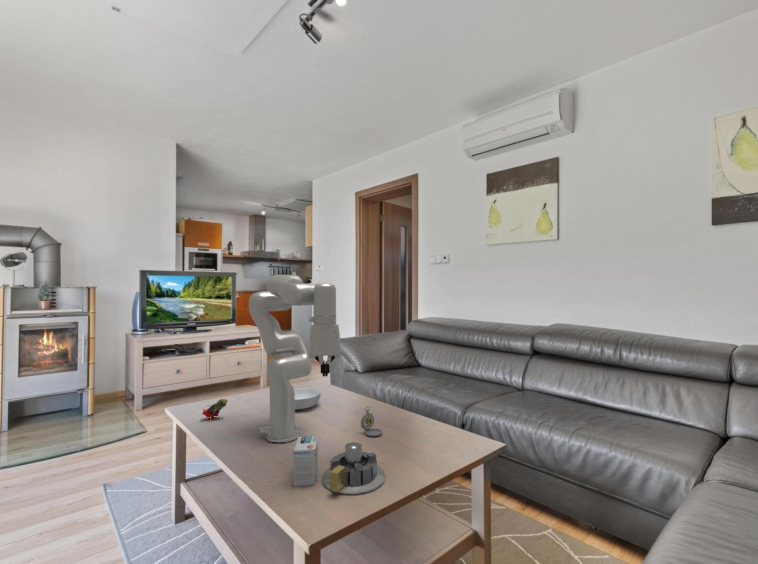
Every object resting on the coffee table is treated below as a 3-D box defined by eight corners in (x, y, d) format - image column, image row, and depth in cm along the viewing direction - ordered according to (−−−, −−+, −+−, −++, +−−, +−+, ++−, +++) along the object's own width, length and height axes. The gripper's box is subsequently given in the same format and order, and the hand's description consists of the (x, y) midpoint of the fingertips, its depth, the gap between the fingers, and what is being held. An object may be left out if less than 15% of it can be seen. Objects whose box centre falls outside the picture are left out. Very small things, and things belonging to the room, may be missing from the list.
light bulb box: (297, 469, 124) (297, 436, 124) (318, 468, 124) (318, 435, 125) (292, 486, 113) (292, 450, 113) (315, 485, 114) (315, 448, 114)
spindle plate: (320, 497, 107) (320, 461, 107) (324, 465, 126) (323, 435, 126) (388, 493, 109) (387, 457, 109) (381, 462, 128) (381, 432, 128)
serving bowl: (286, 400, 200) (286, 386, 200) (325, 401, 198) (325, 388, 198) (270, 413, 180) (270, 398, 180) (313, 414, 177) (313, 399, 177)
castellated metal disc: (329, 465, 124) (329, 449, 124) (373, 462, 126) (373, 446, 126) (330, 492, 107) (329, 474, 107) (380, 488, 109) (380, 470, 109)
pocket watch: (380, 438, 149) (379, 412, 149) (359, 436, 150) (358, 411, 151) (384, 430, 157) (383, 405, 157) (364, 429, 158) (363, 404, 159)
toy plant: (218, 429, 172) (230, 412, 168) (196, 423, 168) (207, 405, 164) (221, 415, 179) (232, 398, 175) (200, 409, 175) (210, 391, 171)
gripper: (301, 322, 124) (301, 378, 124) (347, 321, 126) (347, 377, 126) (303, 320, 132) (303, 373, 132) (347, 319, 133) (347, 372, 133)
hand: (325, 375), depth 129 cm, fingers closed
